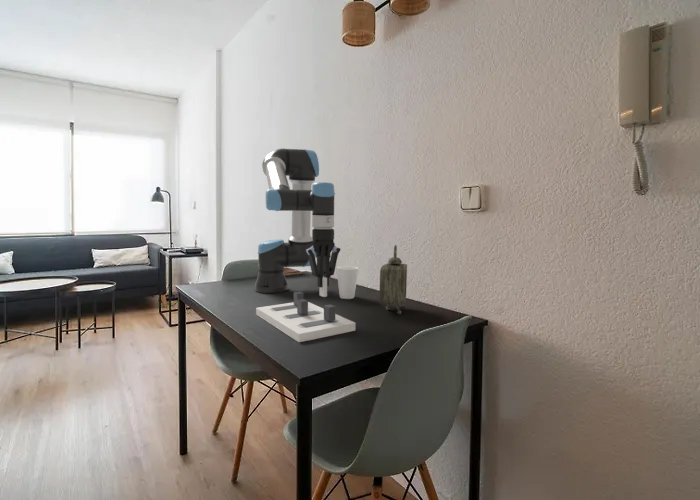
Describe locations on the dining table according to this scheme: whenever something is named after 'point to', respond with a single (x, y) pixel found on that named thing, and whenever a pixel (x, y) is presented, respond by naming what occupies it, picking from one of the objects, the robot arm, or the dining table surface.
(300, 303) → the handle
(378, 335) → the dining table surface
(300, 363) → the dining table surface
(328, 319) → the handle
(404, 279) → the tabletop clock
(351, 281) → the foam cup
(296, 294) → the handle
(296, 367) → the dining table surface
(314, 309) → the breaker panel
